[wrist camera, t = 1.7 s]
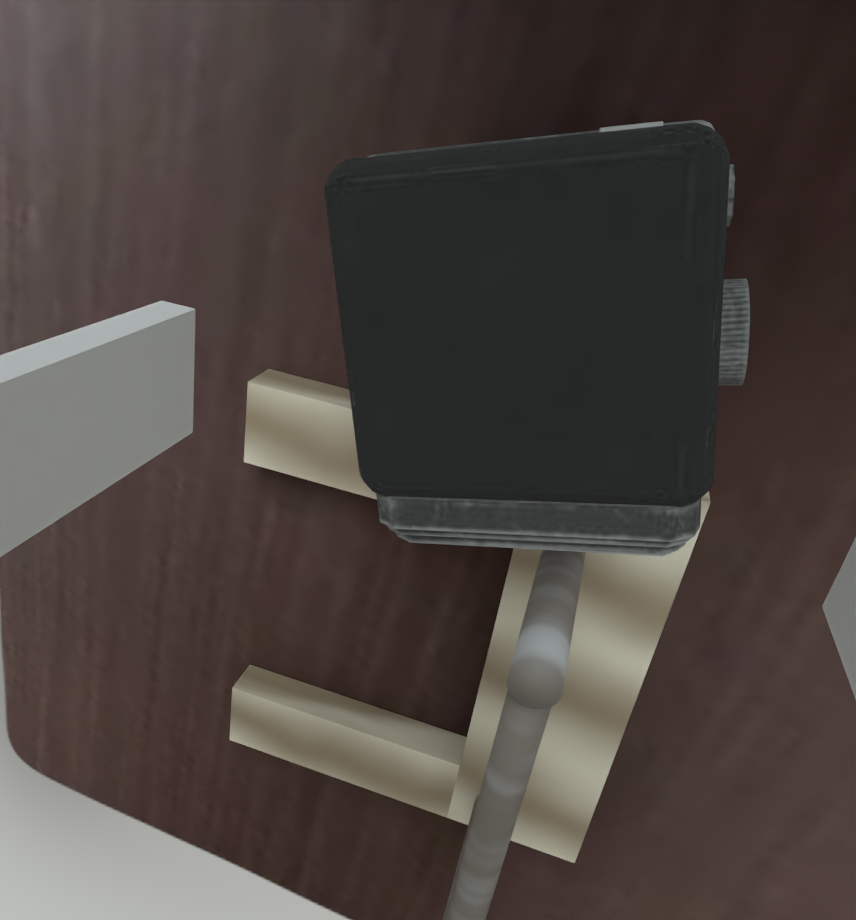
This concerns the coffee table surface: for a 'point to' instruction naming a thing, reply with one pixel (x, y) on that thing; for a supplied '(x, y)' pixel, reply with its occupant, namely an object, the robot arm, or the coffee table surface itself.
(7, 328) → the coffee table surface
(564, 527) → the camera
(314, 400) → the wooden rack
